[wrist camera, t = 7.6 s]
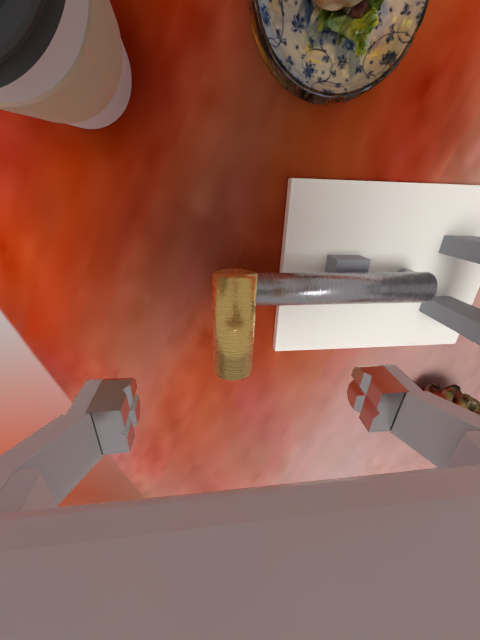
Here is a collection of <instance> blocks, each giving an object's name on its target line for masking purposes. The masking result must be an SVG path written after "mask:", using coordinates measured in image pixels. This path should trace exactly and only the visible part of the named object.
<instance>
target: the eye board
mask: <svg viewBox="0 0 480 640" xmlns="http://www.w3.org/2000/svg"><path fill="white" fill-rule="evenodd" d="M403 268H407V269H410V270H413V271H415V272H430V273H432V274H433V275H434V276H435V278H436V280H437V285H438V287H437V292H436V295H435V296H434V298H433V299H432V300H431V301H429V302H425V303H381V304H333V305H284V306H276V316H275V326H274V337H273V348H274V350H275V351H291V350H315V349H339V348H363V347H386V346H410V345H434V344H455V343H456V341H457V338H458V336H459V334H461V335H462V336H464V337H466V338H468V339H470V340H471V341H473V342H475V343H477V344H478V345H480V309H479V308H477V307H474V306H472V303H473V301H474V298H475V296H476V293H477V291H478V289H479V286H480V185H457V184H432V183H406V182H381V181H355V180H330V179H304V178H288V188H287V198H286V209H285V220H284V230H283V241H282V252H281V262H280V273H301V272H397V271H399V270H400V269H403Z"/></svg>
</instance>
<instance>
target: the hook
mask: <svg viewBox="0 0 480 640" xmlns="http://www.w3.org/2000/svg"><path fill="white" fill-rule="evenodd" d="M437 287H438V285H437V280H436V278H435V276H434V275H433V274H432V273H430V272H415V271H413V270H410V269H407V268H403V269H400V270H399V271H397V272H301V273H256V272H254V271H251V270H247V269H240V268H226V269H219V270H216V271H214V272H213V273H212V307H213V370H214V372H215V374H216V375H217V376H219V377H220V378H223V379H226V380H240V379H243V378H246V377H247V376H249V375H250V374H251V372H252V362H253V345H254V327H255V310H256V306H284V305H333V304H381V303H425V302H429V301H431V300H432V299H433V298H434V296H435V295H436V292H437Z"/></svg>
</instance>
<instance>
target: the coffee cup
mask: <svg viewBox="0 0 480 640" xmlns="http://www.w3.org/2000/svg"><path fill="white" fill-rule="evenodd" d="M131 88H132V75H131V68H130V63H129V59H128V56H127V53H126V50H125V48H124V45H123V42H122V40H121V36H120V31H119V27H118V23H117V20H116V17H115V14H114V11H113V8H112V6H111V3H110V0H0V109H2V110H6V111H10V112H14V113H18V114H22V115H26V116H30V117H35V118H39V119H43V120H47V121H51V122H56V123H64V124H68V125H72V126H76V127H79V128H84V129H99V128H103V127H106V126H108V125H110V124H112V123H113V122H115V121H116V120H117V119H118V118H119V117H120V116H121V115H122V114H123V112H124V111H125V109H126V107H127V105H128V102H129V99H130V95H131Z"/></svg>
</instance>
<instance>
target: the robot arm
mask: <svg viewBox="0 0 480 640" xmlns="http://www.w3.org/2000/svg"><path fill="white" fill-rule="evenodd" d="M351 376H352V377H353V379H354V380H353V381H352V382H351V383H350V384H349V386H348V390H347V394H348V400H349V403H350V405H351V406H352V408H353V409H354V410H356V411H357V412H359V413H360V416H359V418H360V420H361V421H362V423H363V424H364V426H365V427H366V429H367V430H368V432H383V431H391V433H392V434H394V435H395V436H397V437H398V438H399V439H401V440H402V441H403V442H405V443H406V444H407V445H409V446H410V447H411V448H413V449H414V450H415V451H417V452H418V453H419V454H421V455H422V456H424V457H425V458H426V459H428V460H429V461H430V462H432V463H433V464H434V465H436V466H437V467H438V468H435V469H425V470H415V471H405V472H396V473H386V474H377V475H367V476H357V477H348V478H338V479H329V480H319V481H309V482H300V483H290V484H280V485H270V486H261V487H251V488H241V489H232V490H222V491H212V492H203V493H193V494H184V495H174V496H164V497H155V498H145V499H135V500H126V501H116V502H107V503H98V504H87V505H78V506H69V507H58V508H57V506H58V504H59V503H60V502H61V501H62V500H63V499H64V498H65V497H66V496H67V495H68V494H69V492H70V491H71V490H72V489H73V488H74V487H75V486H76V485H77V484H78V483H79V481H81V479H82V478H83V477H84V476H85V475H86V474H87V473H88V472H89V471H90V470H91V469H92V467H93V466H94V465H95V464H96V463H97V462H98V461H99V460H100V459H101V458H102V455H107V454H116V453H125V452H130V450H131V446H132V443H133V439H134V435H135V434H134V429H133V428H134V427H135V426H136V425H137V424H138V420H139V414H140V401H139V397H138V396H137V395H136V394H135V392H136V389H137V384H136V380H135V379H134V378H111V379H89V380H87V381H86V382H85V383H84V385H83V387H82V388H81V390H80V392H79V393H78V395H77V397H76V399H75V400H74V402H73V404H72V405H71V407H70V409H69V411H68V412H67V414H66V415H60V416H59V417H57V418H56V419H55V420H53V421H51V422H50V423H48V424H47V425H45V426H44V427H42V428H41V429H39V430H38V431H37V432H35V433H33V434H32V435H30V436H29V437H27V438H26V439H24V440H23V441H22V442H20V443H19V444H17V445H16V446H14V447H13V448H11V449H10V450H8V451H7V452H5V453H4V454H2V455H1V456H0V640H480V415H479V414H476V413H474V412H472V411H470V410H468V409H465V408H463V407H461V406H459V405H457V404H454V403H452V402H450V401H448V400H446V399H443V398H441V397H439V396H437V395H435V394H432V393H430V392H428V391H423V390H422V389H421V388H420V387H418V386H417V385H416V384H415V383H414V382H413V381H412V380H411V379H410V378H409V377H408V376H407V375H406V374H405V373H404V372H403V371H402V370H400V369H399V368H398V367H397V366H396V365H393V364H386V365H378V366H360V367H355V368H354V369H353V371H352V375H351Z"/></svg>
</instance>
